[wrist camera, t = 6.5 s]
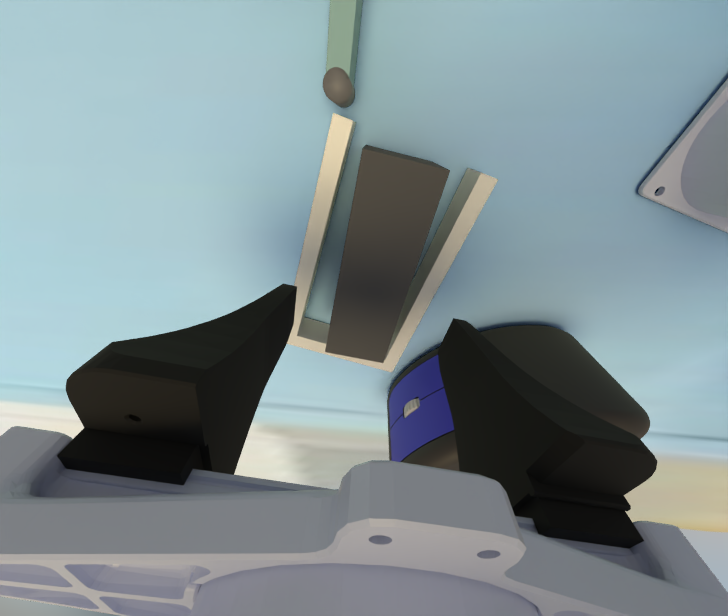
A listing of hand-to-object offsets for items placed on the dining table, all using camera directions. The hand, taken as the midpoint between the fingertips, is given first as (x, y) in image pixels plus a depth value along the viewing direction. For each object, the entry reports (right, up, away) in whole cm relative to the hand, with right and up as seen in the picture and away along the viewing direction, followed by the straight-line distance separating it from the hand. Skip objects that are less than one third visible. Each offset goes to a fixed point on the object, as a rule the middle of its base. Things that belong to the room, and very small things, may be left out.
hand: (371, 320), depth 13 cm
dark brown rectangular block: (0, +5, +7) cm, 9 cm away
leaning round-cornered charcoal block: (+9, -4, +12) cm, 16 cm away
